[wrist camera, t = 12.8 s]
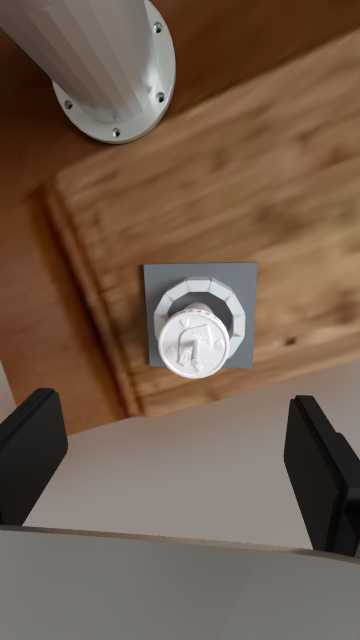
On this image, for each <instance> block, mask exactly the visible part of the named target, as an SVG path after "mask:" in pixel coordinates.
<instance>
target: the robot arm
mask: <svg viewBox="0 0 360 640" xmlns="http://www.w3.org/2000/svg"><path fill="white" fill-rule="evenodd" d="M0 27H1V28H2V29H3V30H4V31H5V32H6V33H7V34H8V35H9V36H10V37H11V38H12V39H13V40H14V41H15V42H16V43H17V44H18V45H19V46H20V47H21V48H22V49H23V50H24V51H25V52H26V53H27V54H28V55H29V56H30V57H31V58H32V59H33V60H34V61H35V62H36V63H37V64H38V65H39V66H40V67H41V68H42V70H43V71H44V72H45V73H46V74H47V75H48V76H49V77H50V78H51V79H52V83H53V88H54V91H55V94H56V96H57V99H58V102H59V103H60V105H61V107H62V109H63V110H64V112H65V114H66V115H67V116H68V117H69V119H70V120H71V121H72V122H73V123H74V124H75V125H76V126H77V127H78V128H79V129H80V130H81V131H83V132H84V133H85V134H87V135H88V136H90V137H91V138H94V139H96V140H98V141H100V142H105V143H109V144H123V143H128V142H132V141H134V140H137V139H139V138H141V137H143V136H144V135H145V134H147V133H148V132H149V131H151V130H152V129H153V128H154V127H155V126H156V125H157V123H158V122H159V121H160V120H161V118H162V117H163V115H164V113H165V112H166V110H167V108H168V106H169V103H170V101H171V98H172V95H173V90H174V86H175V77H176V62H175V53H174V48H173V43H172V39H171V36H170V33H169V30H168V28H167V25H166V23H165V22H164V20H163V18H162V16H161V15H160V13H159V11H158V10H157V9H156V8H155V7H154V6H153V4H152V3H151V2H150V1H149V0H0ZM159 31H160V33H158V32H159ZM160 99H164V101H163V102H161V103H160V102H159V101H160ZM71 107H72V108H71ZM118 133H120V135H119V137H117V134H118ZM288 415H289V416H288V423H287V431H286V440H285V449H284V463H285V466H286V469H287V472H288V475H289V478H290V481H291V484H292V487H293V490H294V493H295V496H296V499H297V502H298V505H299V508H300V511H301V514H302V517H303V520H304V523H305V525H306V529H307V532H308V535H309V538H310V540H311V543H312V546H313V549H314V550H311V549H302V548H293V547H282V546H273V545H262V544H252V543H241V542H228V541H215V540H204V539H191V538H179V537H166V536H153V535H139V534H126V533H113V532H99V531H85V530H72V529H56V528H42V527H28V526H22V525H23V523H24V521H25V520H26V518H27V517H28V515H29V513H30V512H31V510H32V508H33V507H34V505H35V504H36V502H37V500H38V499H39V497H40V495H41V494H42V492H43V491H44V489H45V487H46V485H47V484H48V482H49V481H50V479H51V477H52V476H53V474H54V473H55V471H56V469H57V468H58V466H59V465H60V463H61V461H62V460H63V458H64V456H65V455H66V453H67V450H68V441H67V436H66V430H65V425H64V420H63V414H62V409H61V403H60V398H59V394H58V393H57V392H55V390H54V389H53V388H38V389H37V390H35V391H34V392H33V393H32V394H31V395H30V396H29V397H28V398H27V399H26V400H25V401H24V402H23V403H22V404H21V405H20V406H19V407H18V408H17V409H16V410H15V411H14V412H12V414H11V415H9V416H8V417H7V418H6V419H5V420H4V421H3V422H2V423H1V424H0V640H360V460H359V458H358V457H357V455H356V454H355V452H354V451H353V450H352V448H351V446H350V445H349V443H348V442H347V440H346V439H345V437H344V436H343V435H342V434H341V433H338V432H336V431H335V430H334V428H333V427H332V425H331V424H330V422H329V420H328V419H327V417H326V416H325V414H324V413H323V411H322V410H321V408H320V406H319V405H318V403H317V402H316V400H315V399H314V397H313V396H306V395H297V396H296V397H295V399H291V400H290V407H289V414H288Z"/></svg>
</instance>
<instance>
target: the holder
mask: <svg viewBox="0 0 360 640" xmlns="http://www.w3.org/2000/svg"><path fill="white" fill-rule="evenodd" d="M144 278H145V295H146V311H147V327H148V343H149V360H150V366H162V367H167V366H166V365H165V363H164V362H163V360H162V358H161V356H160V353H159V349H158V339H159V335H160V331H161V329H162V327H163V325H164V323H165V322H166V321H167V320H168V319H169V318H170V317H171V316H173V315H174V314H175V313H177V312H180V311H182V310H184V309H185V308H186V307H187V306H188V305H189V304H191V303H195V302H201V303H204V304H206V305H207V306H208V307H209V308H210V309H211V311H212V312H213V314H214V315H215V316H216V317H217V318H218V319H220V320H221V322H222V323H223V324H224V326H225V327H226V330H227V332H228V335H229V344H230V345H229V353H228V357H227V359H226V361H225V363H224V364H223V366H222V367H221V368H252V361H253V341H254V322H255V302H256V282H257V262H220V263H165V264H144Z"/></svg>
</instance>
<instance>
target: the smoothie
mask: <svg viewBox="0 0 360 640" xmlns="http://www.w3.org/2000/svg"><path fill="white" fill-rule="evenodd" d="M229 345H230V344H229V335H228V332H227V330H226V327H225V326H224V324H223V323H222V322H221V320H220V319H218V318H217V317H216V316H215V315H214V314H213V312H212V311H211V309H210V308H209V307H208V306H207V305H206V304H204V303H201V302H195V303H191V304H189V305H188V306H187V307H186V308H185V309H184V310H182V311H180V312H177V313H175V314H174V315H173V316H171V317H170V318H169V319H168V320H167V321H166V322H165V323H164V325H163V327H162V329H161V331H160V335H159V339H158V349H159V353H160V356H161V358H162V360H163V362H164V363H165V365H166V366H167V367H168V368H169V369H170V370H171V371H173V372H174V373H176V374H178V375H180V376H183V377H186V378H203V377H207V376H209V375H211V374H213V373H215V372H216V371H218V370H219V369H220V368H221V367H222V366H223V364H224V363H225V361H226V359H227V357H228V353H229Z"/></svg>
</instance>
